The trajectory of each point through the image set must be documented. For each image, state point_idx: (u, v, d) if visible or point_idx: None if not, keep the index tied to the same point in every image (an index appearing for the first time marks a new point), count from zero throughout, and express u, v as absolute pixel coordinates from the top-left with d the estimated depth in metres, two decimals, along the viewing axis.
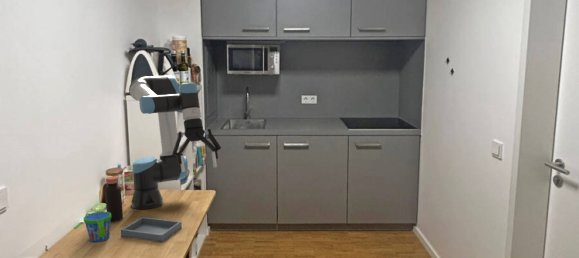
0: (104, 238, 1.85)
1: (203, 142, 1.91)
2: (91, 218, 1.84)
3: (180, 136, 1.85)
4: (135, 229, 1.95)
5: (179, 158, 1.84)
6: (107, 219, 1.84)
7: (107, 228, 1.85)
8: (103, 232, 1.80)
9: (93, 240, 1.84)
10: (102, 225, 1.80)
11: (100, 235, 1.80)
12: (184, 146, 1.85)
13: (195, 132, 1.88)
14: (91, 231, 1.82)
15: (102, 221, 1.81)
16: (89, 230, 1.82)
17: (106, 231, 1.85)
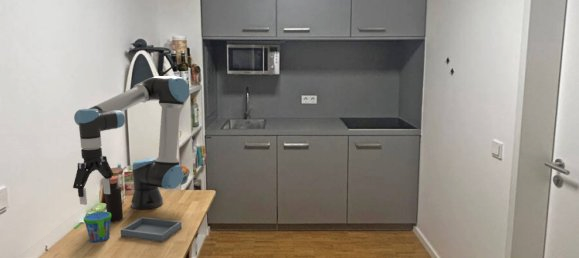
0: (104, 238, 1.85)
1: (89, 174, 1.78)
2: (91, 218, 1.84)
3: None
4: (135, 229, 1.95)
5: None
6: (107, 219, 1.84)
7: (107, 228, 1.85)
8: (103, 232, 1.80)
9: (93, 240, 1.84)
10: (102, 225, 1.80)
11: (100, 235, 1.80)
12: None
13: None
14: (91, 231, 1.82)
15: (102, 221, 1.81)
16: (89, 230, 1.82)
17: (106, 231, 1.85)
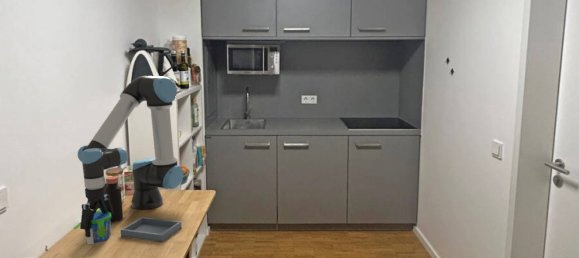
0: (104, 238, 1.85)
1: None
2: None
3: None
4: (135, 229, 1.95)
5: None
6: (107, 219, 1.84)
7: (107, 228, 1.85)
8: (103, 232, 1.80)
9: None
10: (102, 225, 1.80)
11: (100, 235, 1.80)
12: None
13: None
14: None
15: (102, 221, 1.81)
16: None
17: (106, 231, 1.85)
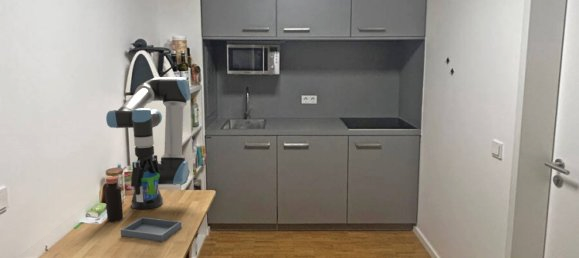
0: (153, 197, 1.88)
1: (143, 172, 1.85)
2: None
3: None
4: (135, 229, 1.95)
5: None
6: (156, 178, 1.87)
7: (156, 187, 1.88)
8: (153, 190, 1.83)
9: None
10: (152, 183, 1.83)
11: (150, 193, 1.83)
12: None
13: None
14: None
15: (152, 179, 1.85)
16: None
17: (155, 190, 1.88)
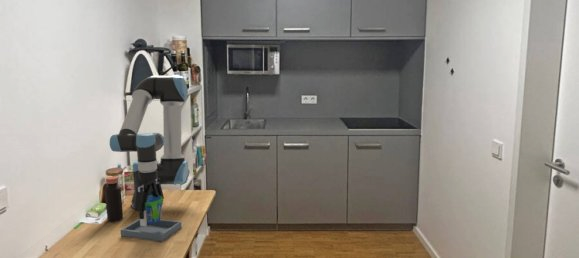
0: (156, 220, 1.90)
1: (147, 196, 1.87)
2: None
3: None
4: (135, 229, 1.95)
5: None
6: (159, 202, 1.89)
7: (159, 211, 1.90)
8: (157, 214, 1.85)
9: None
10: (156, 207, 1.85)
11: (154, 217, 1.85)
12: None
13: None
14: None
15: (156, 203, 1.87)
16: None
17: (158, 213, 1.90)
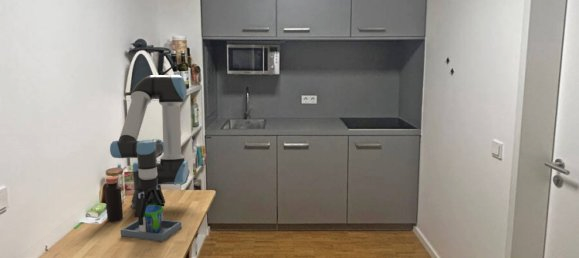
0: (157, 230, 1.91)
1: (147, 203, 1.88)
2: None
3: None
4: (135, 229, 1.95)
5: None
6: (160, 212, 1.90)
7: (159, 221, 1.91)
8: (157, 224, 1.86)
9: None
10: (156, 217, 1.86)
11: (154, 227, 1.86)
12: None
13: None
14: None
15: (156, 213, 1.87)
16: None
17: (158, 223, 1.91)
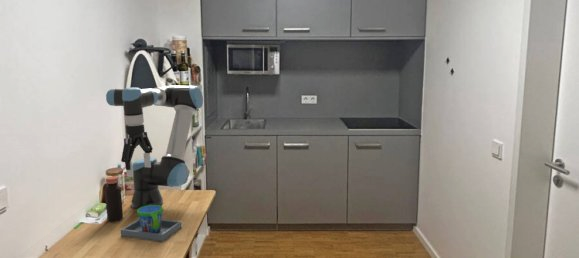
0: (157, 230, 1.91)
1: (134, 149, 1.91)
2: (144, 211, 1.90)
3: None
4: (135, 229, 1.95)
5: None
6: (160, 212, 1.90)
7: (159, 221, 1.91)
8: (157, 224, 1.86)
9: None
10: (156, 217, 1.86)
11: (154, 227, 1.86)
12: None
13: None
14: (145, 223, 1.88)
15: (156, 213, 1.87)
16: (143, 222, 1.88)
17: (158, 223, 1.91)
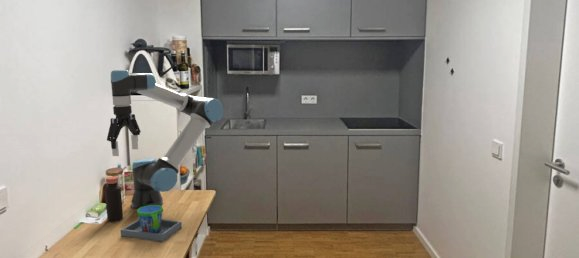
0: (157, 230, 1.91)
1: (120, 129, 1.97)
2: (144, 211, 1.90)
3: None
4: (135, 229, 1.95)
5: None
6: (160, 212, 1.90)
7: (159, 221, 1.91)
8: (157, 224, 1.86)
9: None
10: (156, 217, 1.86)
11: (154, 227, 1.86)
12: None
13: None
14: (145, 223, 1.88)
15: (156, 213, 1.87)
16: (143, 222, 1.88)
17: (158, 223, 1.91)
